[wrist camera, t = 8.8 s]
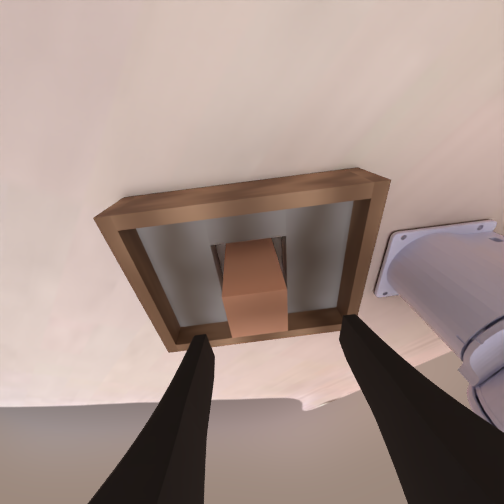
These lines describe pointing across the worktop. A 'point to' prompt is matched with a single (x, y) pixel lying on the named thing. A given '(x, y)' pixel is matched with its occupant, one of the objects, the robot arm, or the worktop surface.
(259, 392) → the worktop surface
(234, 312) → the terracotta peg
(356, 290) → the box
